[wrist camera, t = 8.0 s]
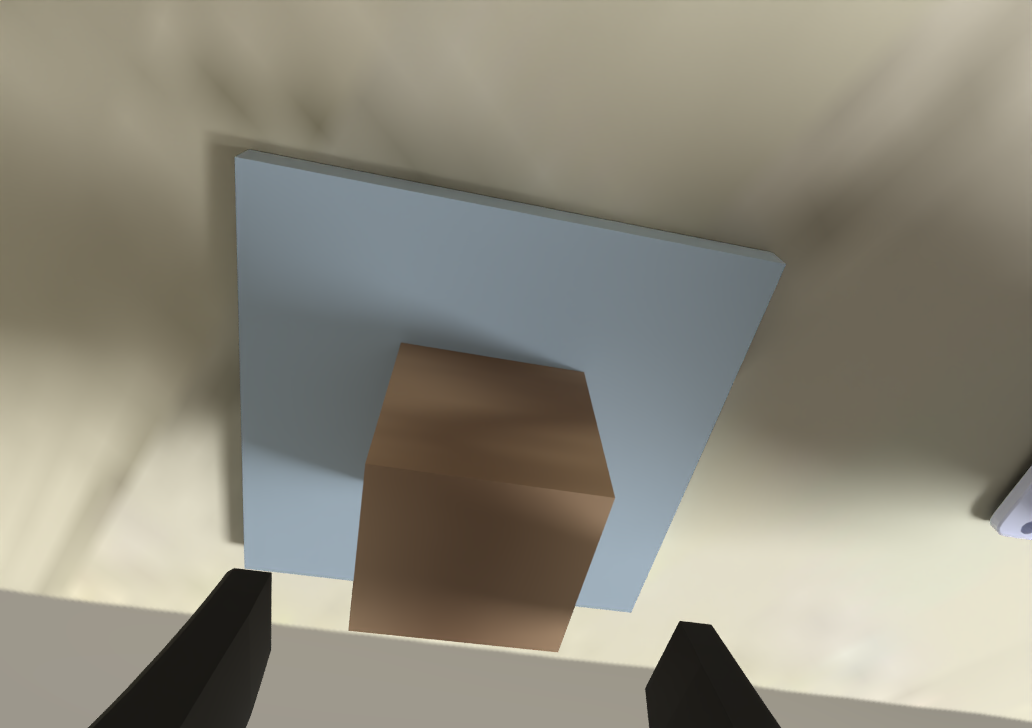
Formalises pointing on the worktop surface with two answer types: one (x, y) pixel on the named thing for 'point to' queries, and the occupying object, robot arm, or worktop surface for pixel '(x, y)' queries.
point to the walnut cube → (479, 502)
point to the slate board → (469, 344)
